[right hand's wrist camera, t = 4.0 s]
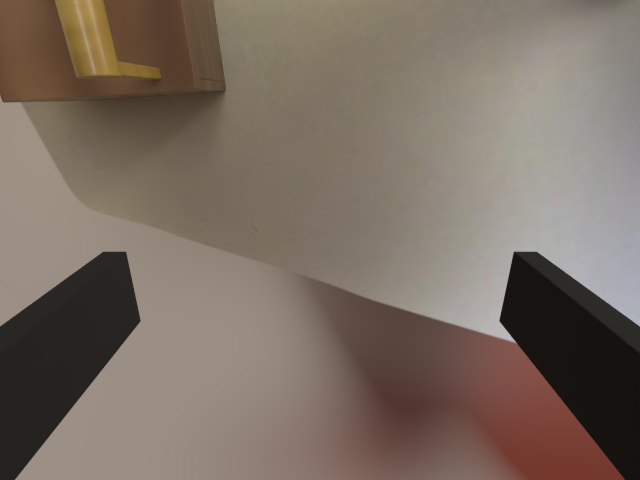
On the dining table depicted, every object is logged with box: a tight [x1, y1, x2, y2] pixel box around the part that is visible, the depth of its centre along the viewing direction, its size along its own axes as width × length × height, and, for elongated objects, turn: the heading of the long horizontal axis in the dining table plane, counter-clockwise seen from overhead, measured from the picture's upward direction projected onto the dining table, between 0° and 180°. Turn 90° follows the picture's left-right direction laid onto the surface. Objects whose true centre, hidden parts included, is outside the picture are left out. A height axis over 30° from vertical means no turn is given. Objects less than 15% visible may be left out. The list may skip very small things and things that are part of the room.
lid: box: [0, 0, 201, 102], centre depth 20 cm, size 13×9×9 cm
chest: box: [24, 0, 226, 102], centre depth 28 cm, size 13×9×9 cm
